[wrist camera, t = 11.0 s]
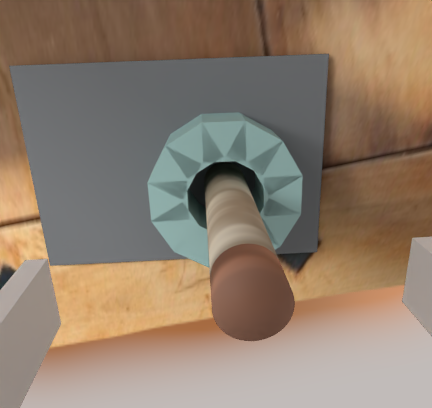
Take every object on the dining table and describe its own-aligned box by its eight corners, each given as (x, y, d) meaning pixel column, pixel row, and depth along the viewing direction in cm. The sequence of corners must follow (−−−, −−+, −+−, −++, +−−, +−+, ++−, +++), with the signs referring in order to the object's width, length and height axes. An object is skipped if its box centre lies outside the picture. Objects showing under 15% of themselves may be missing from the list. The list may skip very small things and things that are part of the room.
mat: (53, 261, 30) (50, 265, 29) (13, 65, 25) (9, 65, 24) (314, 248, 30) (317, 251, 29) (325, 54, 25) (328, 53, 25)
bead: (161, 243, 29) (156, 270, 25) (149, 116, 26) (141, 125, 22) (286, 236, 29) (299, 262, 25) (289, 110, 26) (305, 118, 22)
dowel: (203, 199, 28) (210, 341, 14) (204, 161, 27) (213, 270, 13) (243, 200, 28) (290, 340, 14) (245, 162, 27) (298, 270, 13)
